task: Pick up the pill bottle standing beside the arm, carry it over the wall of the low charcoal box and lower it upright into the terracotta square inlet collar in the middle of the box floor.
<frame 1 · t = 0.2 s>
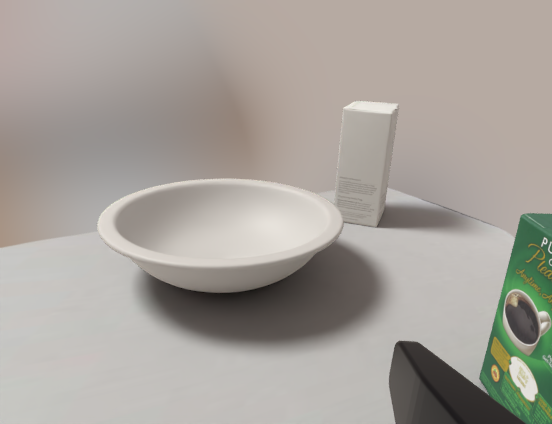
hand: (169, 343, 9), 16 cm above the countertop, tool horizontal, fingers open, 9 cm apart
skincare box: (360, 216, 63), on the countertop
soup bowl: (225, 270, 46), on the countertop
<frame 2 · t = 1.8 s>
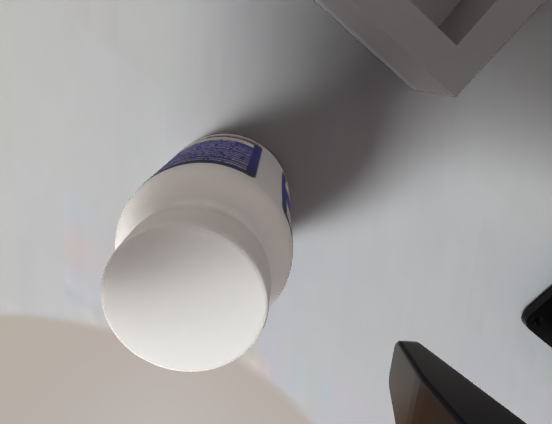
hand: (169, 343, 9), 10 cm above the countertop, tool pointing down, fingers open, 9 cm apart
pill bottle: (229, 193, 19), on the countertop
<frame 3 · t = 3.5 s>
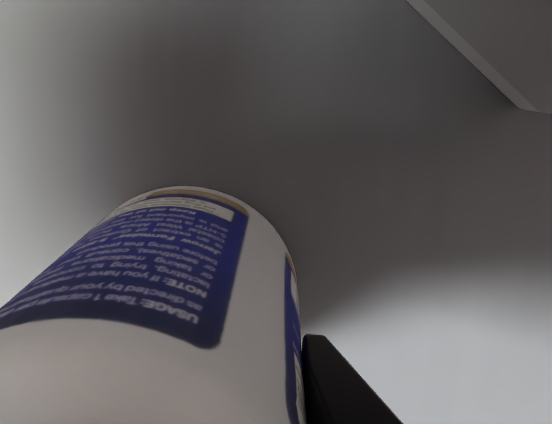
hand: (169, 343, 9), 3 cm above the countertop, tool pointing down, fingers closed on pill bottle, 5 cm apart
pill bottle: (195, 279, 11), on the countertop, touching gripper
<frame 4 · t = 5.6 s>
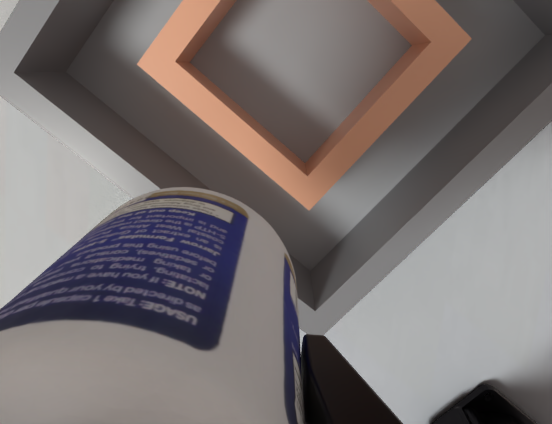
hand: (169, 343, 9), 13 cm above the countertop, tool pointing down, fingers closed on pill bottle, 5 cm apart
walled box: (299, 54, 19), on the countertop
pill bottle: (195, 280, 11), point 10 cm above the countertop, touching gripper
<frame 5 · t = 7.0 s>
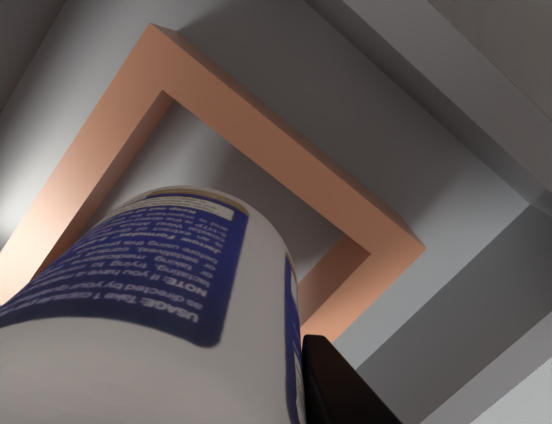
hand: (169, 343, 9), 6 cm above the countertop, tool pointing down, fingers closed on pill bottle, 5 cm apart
walled box: (214, 225, 15), on the countertop
pill bottle: (195, 279, 11), point 4 cm above the countertop, touching gripper
when the fingers open (5 cm above the countertop, at t = 8.1 s): pill bottle drops 1 cm, resting on walled box.
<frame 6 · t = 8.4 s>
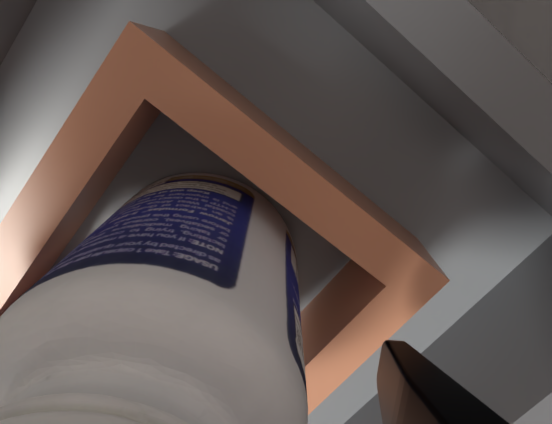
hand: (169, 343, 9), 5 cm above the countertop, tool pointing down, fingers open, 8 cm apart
walled box: (208, 246, 13), on the countertop
pill bottle: (206, 257, 13), point 1 cm above the countertop, touching walled box
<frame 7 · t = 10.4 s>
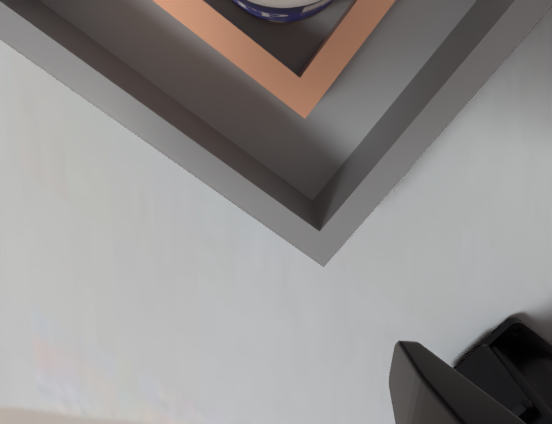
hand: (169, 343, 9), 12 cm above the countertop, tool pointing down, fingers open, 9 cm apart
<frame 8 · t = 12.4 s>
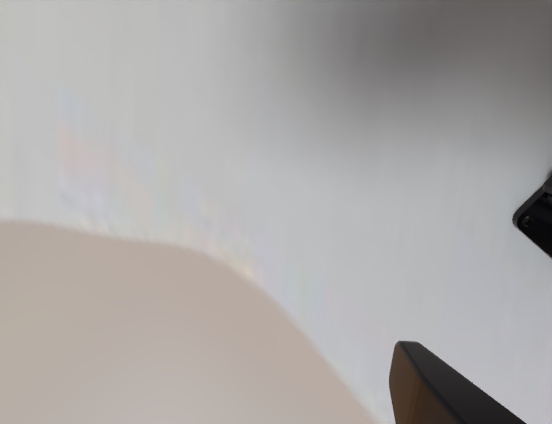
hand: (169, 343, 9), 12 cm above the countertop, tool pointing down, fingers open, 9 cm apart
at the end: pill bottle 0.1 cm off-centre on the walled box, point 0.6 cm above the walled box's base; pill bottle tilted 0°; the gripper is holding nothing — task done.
